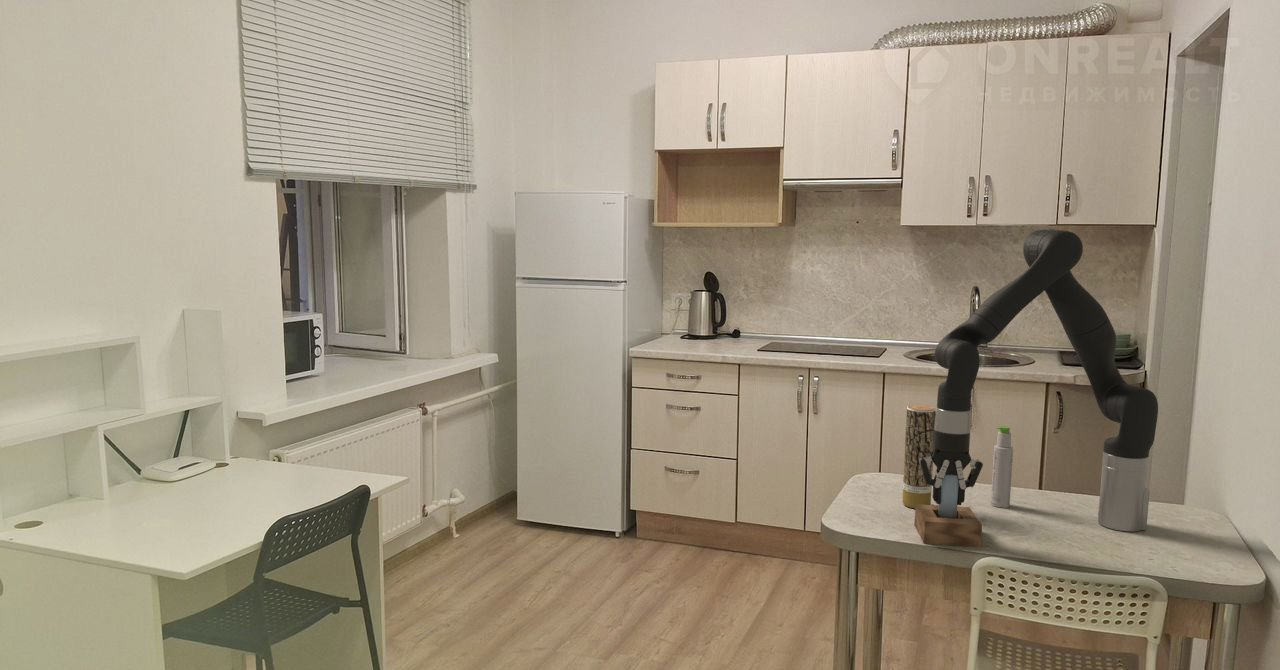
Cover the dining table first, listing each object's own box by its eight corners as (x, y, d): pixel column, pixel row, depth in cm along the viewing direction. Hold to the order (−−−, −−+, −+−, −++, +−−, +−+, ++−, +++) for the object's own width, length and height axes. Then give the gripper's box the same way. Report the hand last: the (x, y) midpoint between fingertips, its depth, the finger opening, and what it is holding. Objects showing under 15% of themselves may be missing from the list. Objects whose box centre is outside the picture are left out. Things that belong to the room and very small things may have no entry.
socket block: (967, 528, 198) (969, 507, 198) (980, 546, 187) (982, 524, 186) (914, 525, 200) (915, 504, 200) (923, 543, 188) (924, 521, 188)
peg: (954, 514, 195) (957, 471, 193) (958, 520, 191) (961, 476, 189) (936, 513, 195) (938, 471, 194) (939, 519, 191) (942, 476, 190)
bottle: (989, 501, 218) (993, 424, 216) (1007, 503, 217) (1012, 425, 215) (992, 507, 214) (997, 428, 211) (1011, 508, 213) (1016, 429, 210)
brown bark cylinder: (934, 510, 211) (939, 410, 208) (906, 509, 211) (911, 410, 208) (925, 501, 218) (930, 404, 215) (898, 501, 218) (903, 404, 215)
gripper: (981, 426, 193) (976, 500, 195) (916, 423, 195) (912, 496, 197) (990, 434, 186) (985, 510, 188) (922, 431, 188) (918, 506, 190)
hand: (947, 503), depth 192 cm, fingers closed on peg, 4 cm apart
